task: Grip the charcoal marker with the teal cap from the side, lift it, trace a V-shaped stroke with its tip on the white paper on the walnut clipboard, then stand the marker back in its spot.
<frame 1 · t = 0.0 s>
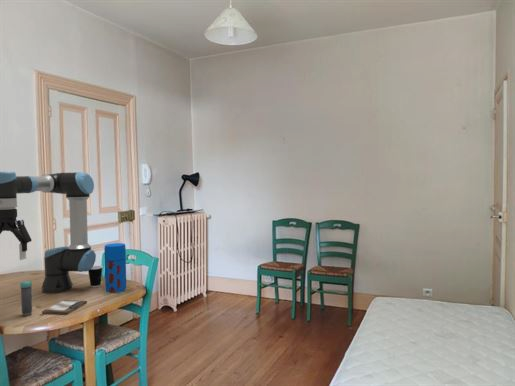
hand: (8, 258, 161), 28 cm above the table, tool pointing down, fingers open, 13 cm apart
marker: (27, 314, 173), on the table
thermos: (116, 290, 211), on the table
clipboard: (65, 308, 182), on the table
dixie cup: (95, 286, 218), on the table
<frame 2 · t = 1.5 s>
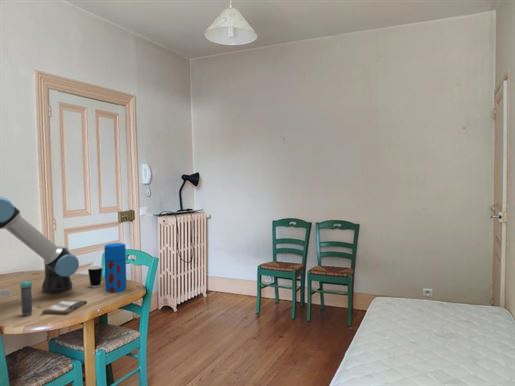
hand: (3, 296, 171), 9 cm above the table, tool horizontal, fingers open, 13 cm apart
nothing on the table moved.
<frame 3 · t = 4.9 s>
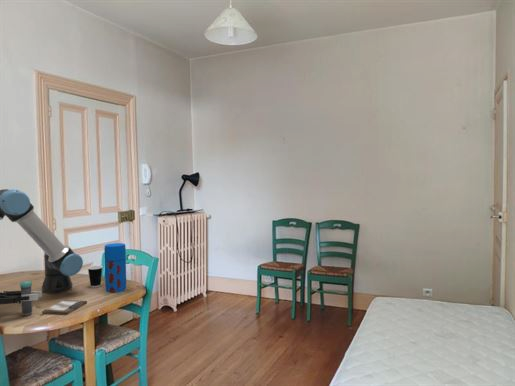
hand: (39, 295, 174), 9 cm above the table, tool horizontal, fingers closed on marker, 4 cm apart
marker: (27, 314, 173), on the table, touching gripper
everything else where it was.
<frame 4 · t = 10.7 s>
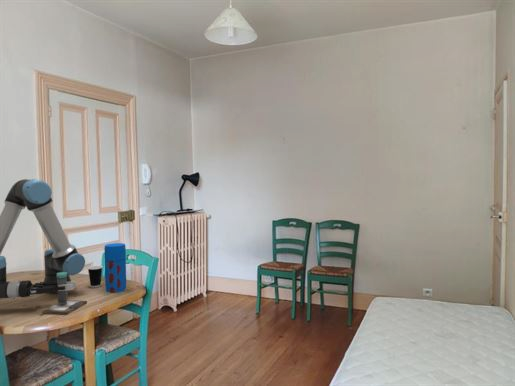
hand: (74, 285, 184), 10 cm above the table, tool horizontal, fingers closed on marker, 4 cm apart
marker: (62, 304, 183), point 2 cm above the table, touching gripper
everything else where it was.
when the fingers open (9 cm above the table, at t = 16.8 s): marker stays where it is, on the table.
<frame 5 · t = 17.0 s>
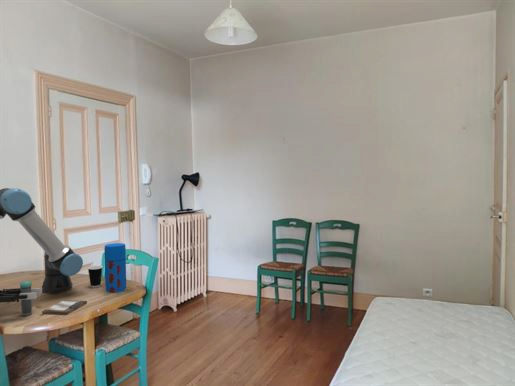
hand: (38, 293, 174), 10 cm above the table, tool horizontal, fingers open, 6 cm apart
marker: (26, 314, 173), on the table
everything else where it was.
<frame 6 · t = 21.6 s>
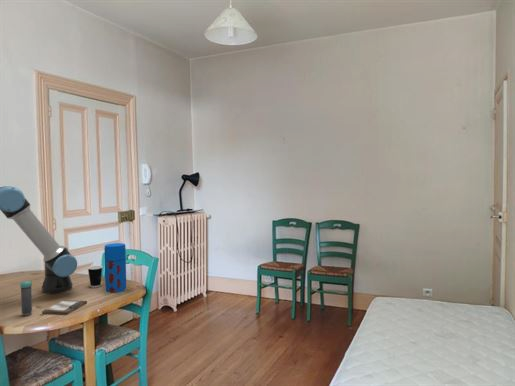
nothing on the table moved.
at the end: marker inside the target area (0.1 cm from its centre), on the table; marker tilted 0°; the gripper is holding nothing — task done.
